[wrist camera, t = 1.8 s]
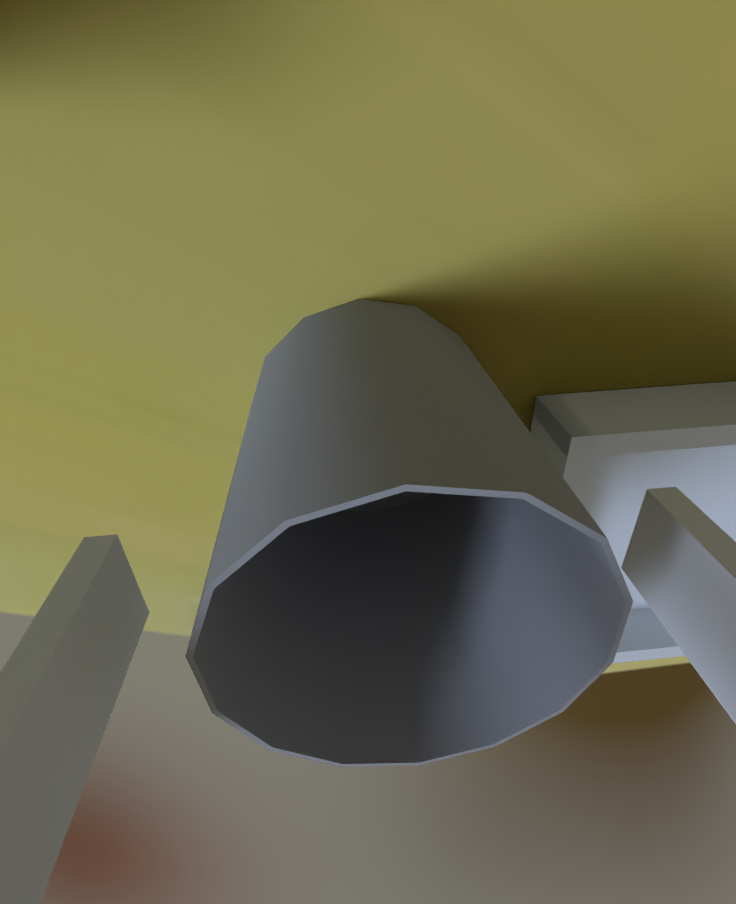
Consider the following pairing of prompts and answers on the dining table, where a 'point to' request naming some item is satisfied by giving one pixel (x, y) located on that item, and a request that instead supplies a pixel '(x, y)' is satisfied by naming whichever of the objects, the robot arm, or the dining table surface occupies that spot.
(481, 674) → the cup
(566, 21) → the dining table surface
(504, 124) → the dining table surface
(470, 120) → the dining table surface
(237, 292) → the dining table surface
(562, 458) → the grey tray
